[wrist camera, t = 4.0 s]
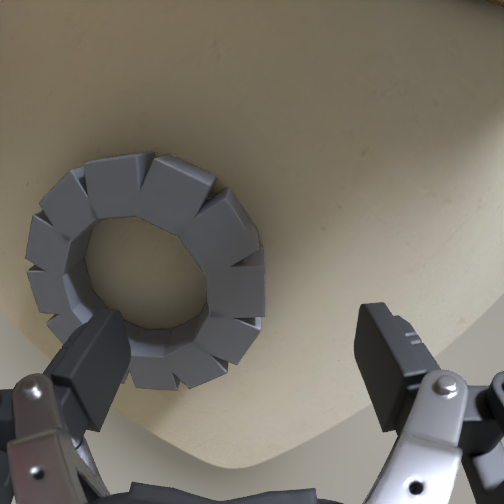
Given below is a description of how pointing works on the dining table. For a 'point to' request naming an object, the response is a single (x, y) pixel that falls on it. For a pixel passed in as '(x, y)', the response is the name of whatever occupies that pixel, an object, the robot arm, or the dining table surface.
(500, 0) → the wooden plate
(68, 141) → the dining table surface
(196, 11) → the dining table surface
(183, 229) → the gear
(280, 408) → the dining table surface
